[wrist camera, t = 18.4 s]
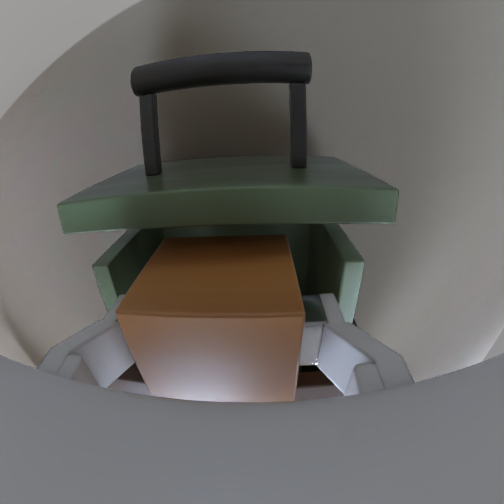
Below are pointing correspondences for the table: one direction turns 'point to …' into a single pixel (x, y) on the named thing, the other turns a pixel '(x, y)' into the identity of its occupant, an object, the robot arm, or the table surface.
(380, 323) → the table surface
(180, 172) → the drawer
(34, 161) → the table surface
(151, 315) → the block
